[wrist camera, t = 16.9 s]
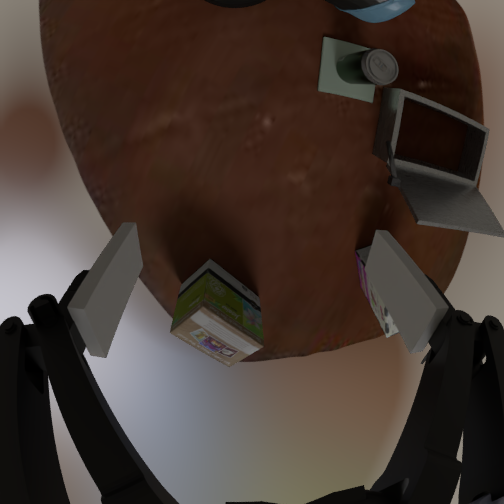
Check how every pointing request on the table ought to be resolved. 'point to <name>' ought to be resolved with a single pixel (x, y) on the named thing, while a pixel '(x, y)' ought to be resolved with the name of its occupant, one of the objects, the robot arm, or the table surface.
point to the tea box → (218, 315)
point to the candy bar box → (374, 294)
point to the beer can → (368, 67)
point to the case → (436, 171)
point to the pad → (330, 77)
